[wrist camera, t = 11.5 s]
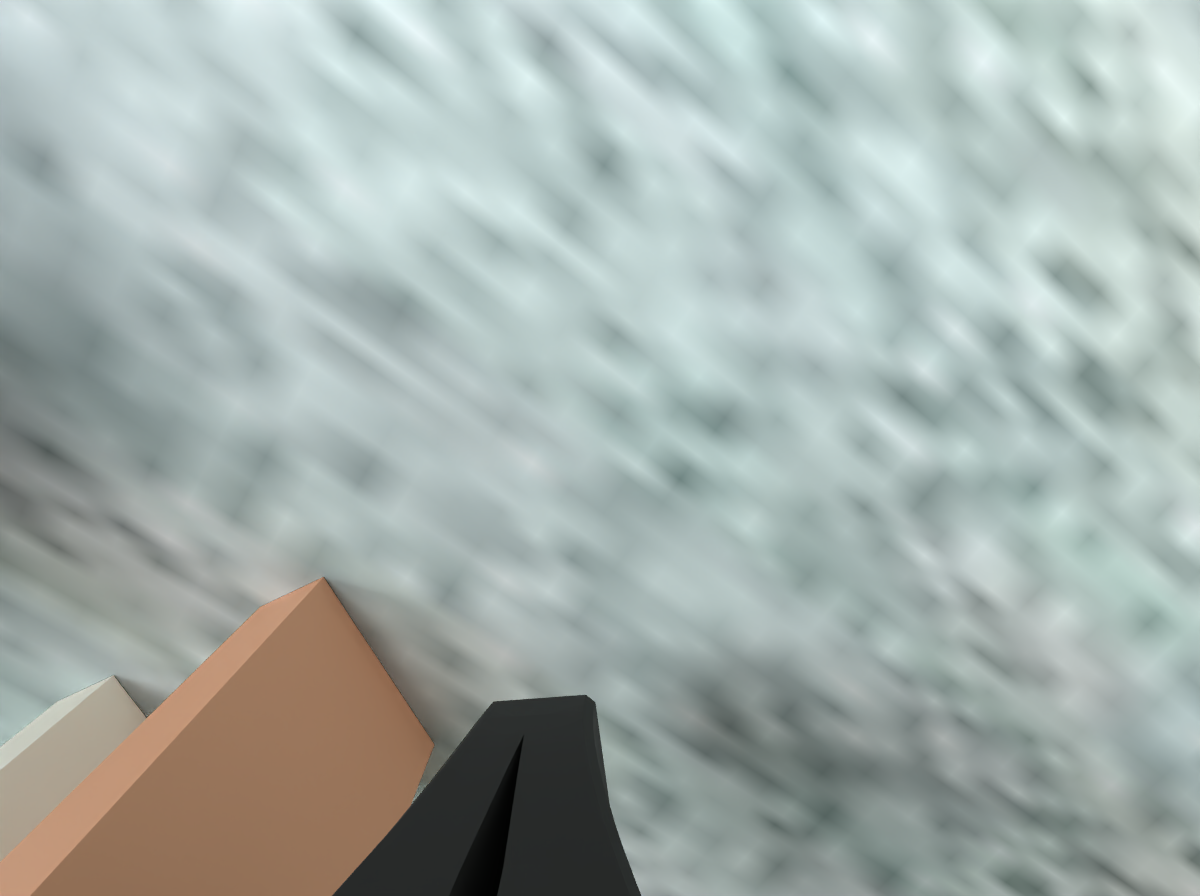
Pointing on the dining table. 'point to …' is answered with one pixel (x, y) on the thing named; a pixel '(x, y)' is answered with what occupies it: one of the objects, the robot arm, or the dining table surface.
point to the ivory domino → (60, 755)
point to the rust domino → (243, 773)
